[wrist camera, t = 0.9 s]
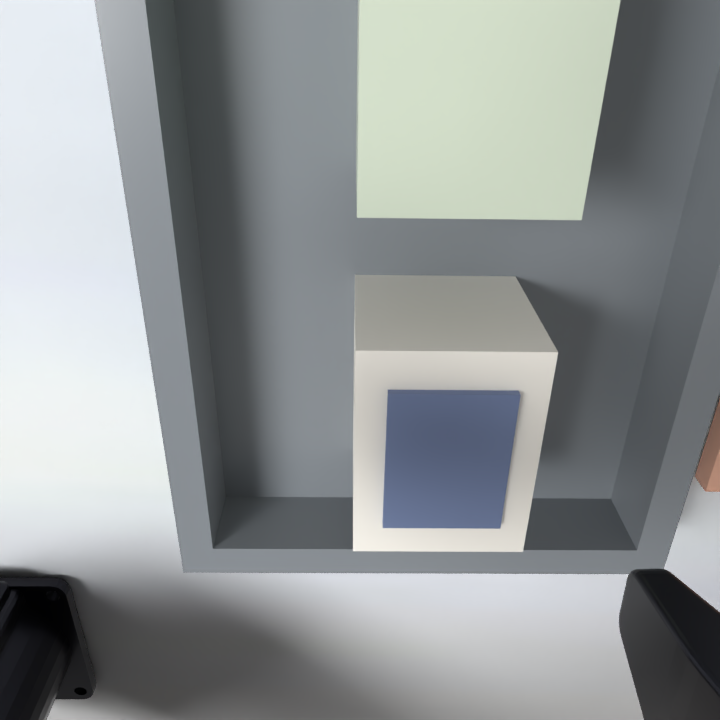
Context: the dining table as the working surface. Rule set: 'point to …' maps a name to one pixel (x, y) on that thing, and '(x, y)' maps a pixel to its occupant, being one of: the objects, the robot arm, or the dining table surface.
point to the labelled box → (446, 412)
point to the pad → (711, 457)
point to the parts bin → (406, 257)
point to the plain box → (479, 106)
